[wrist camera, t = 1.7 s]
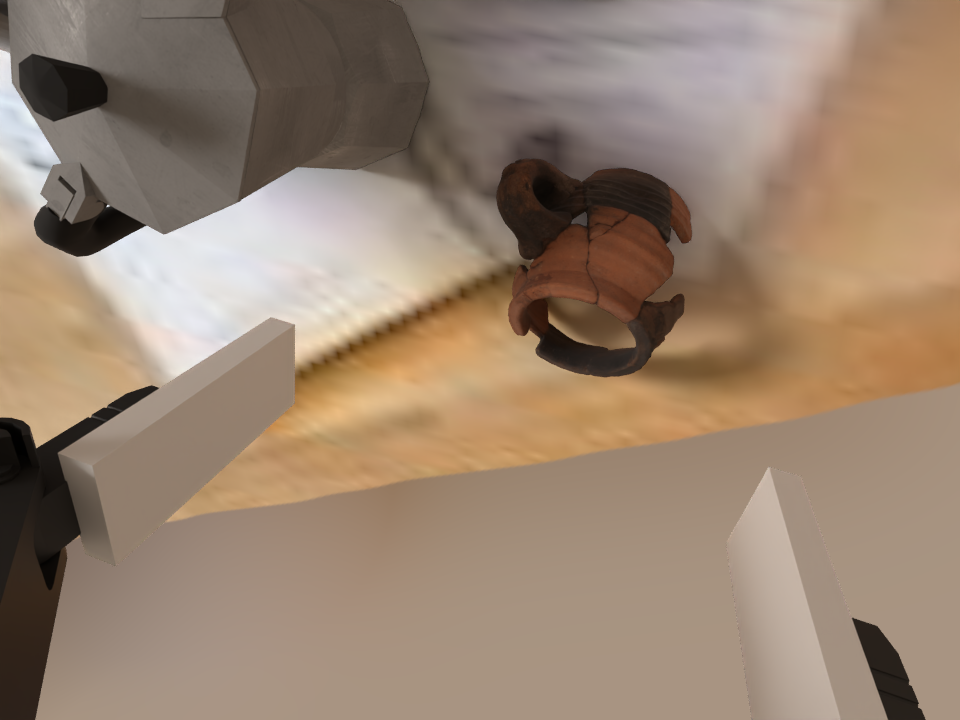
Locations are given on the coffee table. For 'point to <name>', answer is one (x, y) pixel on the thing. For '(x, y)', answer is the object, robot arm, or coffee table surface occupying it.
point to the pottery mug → (592, 257)
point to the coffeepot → (203, 102)
